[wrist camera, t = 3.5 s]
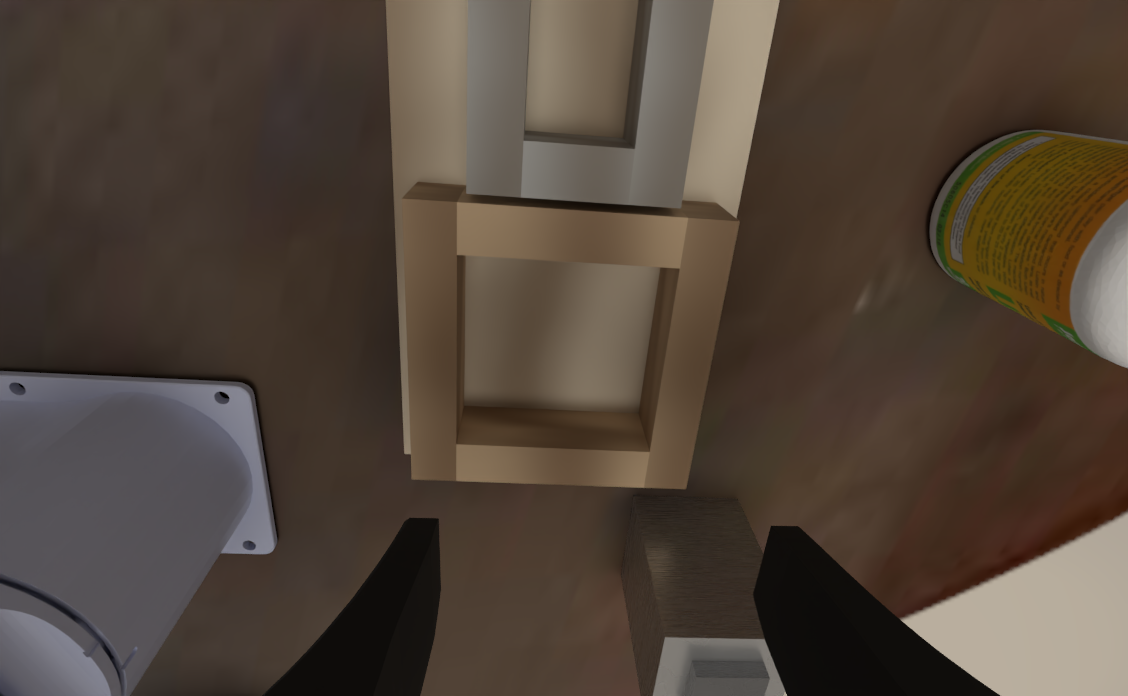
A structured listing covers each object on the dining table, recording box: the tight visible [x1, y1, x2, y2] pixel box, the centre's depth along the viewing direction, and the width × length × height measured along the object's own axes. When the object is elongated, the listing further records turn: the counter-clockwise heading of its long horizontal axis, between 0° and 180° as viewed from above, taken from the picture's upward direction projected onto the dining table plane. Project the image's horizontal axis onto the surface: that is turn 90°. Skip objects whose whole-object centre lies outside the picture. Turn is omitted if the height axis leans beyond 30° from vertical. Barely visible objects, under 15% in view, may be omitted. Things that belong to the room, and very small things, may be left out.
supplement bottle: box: [929, 130, 1128, 368], centre depth 17 cm, size 5×5×10 cm
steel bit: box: [621, 495, 785, 696], centre depth 23 cm, size 4×4×8 cm
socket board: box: [386, 0, 780, 489], centre depth 18 cm, size 11×22×3 cm, turn 176°
